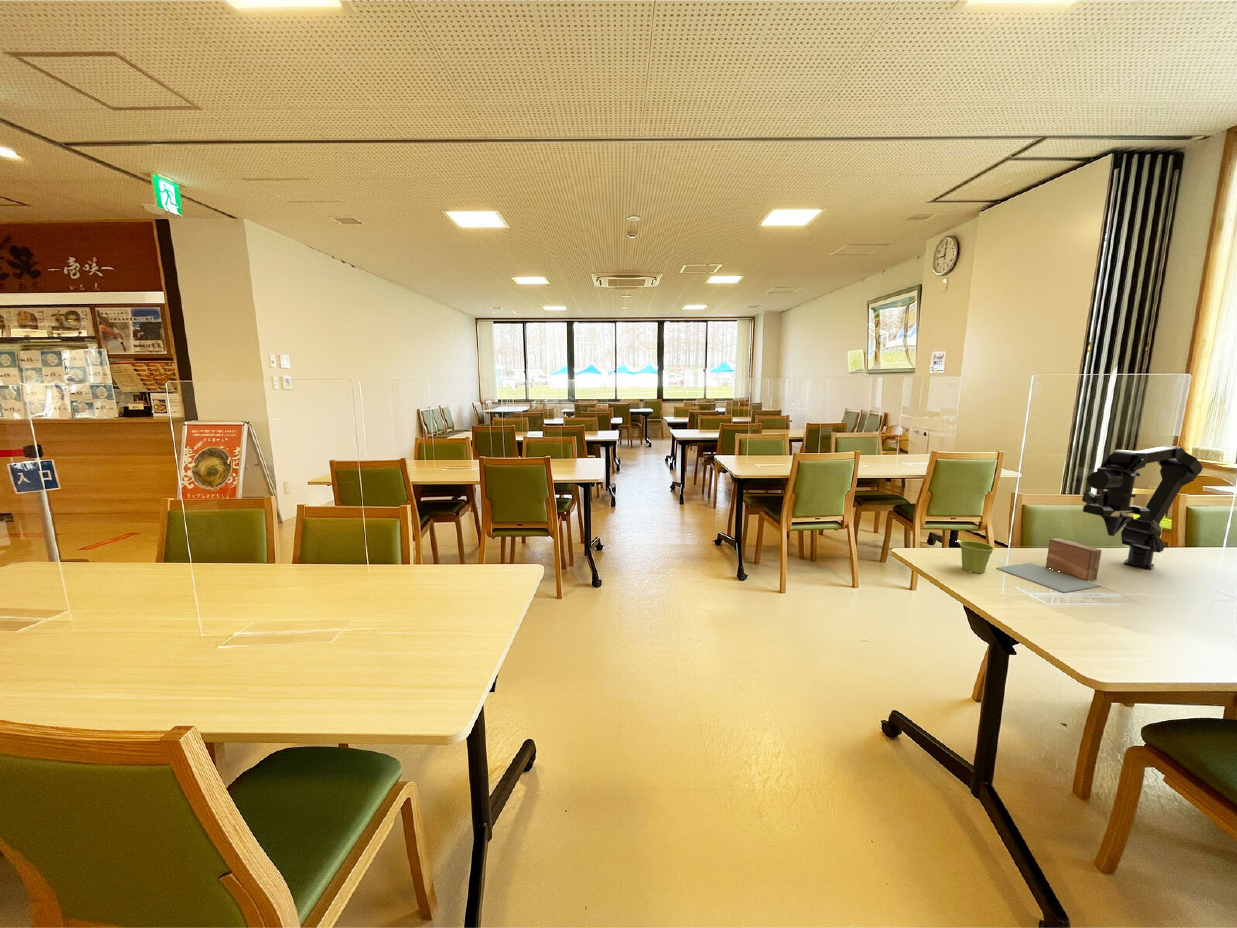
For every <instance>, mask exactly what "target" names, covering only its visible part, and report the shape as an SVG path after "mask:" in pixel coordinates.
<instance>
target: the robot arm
mask: <svg viewBox="0 0 1237 928" xmlns="http://www.w3.org/2000/svg"><path fill="white" fill-rule="evenodd" d="M1151 463H1157V464H1158V465H1159V466H1160V470H1159V473H1160V476H1161V481H1160V482H1159V484H1158V486H1157V487H1156V489H1155V491H1154V492H1153V494H1152V495H1151V498H1150V499H1149V501H1148V502H1147V504H1146V505H1145V506H1141V505H1135V504H1131V501H1132V498H1136V496H1137V495H1136V493H1133V490H1134V487H1135V480H1136V477H1140V476H1141V474H1140V473H1139V472H1138V470H1140V469H1143V468H1145V467H1146V465H1147V464H1151ZM1202 470H1203V465H1202V464H1201V462H1200V460H1199V459H1198V458H1197V457H1195V456H1193V455H1192V454H1190V453H1188V452H1186V451H1185V449H1184V448H1182V447H1180V446H1175V445H1166V444H1164V445H1160V446H1156V447H1152V448H1146V449H1140V450H1125V449H1116V450H1113V451H1112V453H1110V454H1109V456H1108V457H1107V458H1106V459H1105V460H1104V462H1103V463H1102V464H1101V465H1100V467H1097V469H1096V471H1094V472H1092V473H1091V474H1090V475H1089V476H1088V477H1087V483H1088V485H1089V486H1090V487H1091V488H1092V489H1095V490H1102V492H1101V494H1094V493H1093V492H1084V493H1083V495H1082V496H1081V497H1082V498H1081V501H1082V503H1085V504H1084V505H1083V507H1082V512H1083V513H1087V514H1091V515H1095V516H1100V517H1101V518H1102V519H1103V521H1104V523H1105V527H1106V532H1107V535H1108V536H1110V537H1114V536H1115V535H1116V534H1117V533H1118V532H1119V531H1120V530H1121V529H1122V530H1121V531H1120V535H1121V536H1120V537H1121V542H1122V543H1121V544H1122V545H1125V546H1129V549H1128V555H1127V558H1126V559H1125V561H1123V564H1124V565H1128V566H1131V565H1132V567H1137V568H1141V569H1146V570H1152V569H1153V568H1154V566H1155V564H1154V563H1153V558H1154V555H1155V553H1162V552H1163V551H1164V550H1165V548H1166V545H1165V543H1164V541H1163V540H1162V538H1161V536H1162V529H1161V526H1160V523H1161V522H1162V520H1163V519H1164V517H1165V515H1166V513H1167V512H1168V510H1169V509H1170V507H1171V506H1172V504H1173V502H1174V501H1175V499H1176V497H1177V495H1178V493H1179V492H1180V491H1181V489H1182V488H1183V487H1184V486H1185V485H1187V484H1190V483H1191V482H1192V483H1193V481H1195V480H1196V479H1197V477H1198V476H1199V475H1200V474H1201V473H1202ZM1130 514H1134V515H1139V516H1138V517H1136V518H1134V516H1131V515H1130Z"/></svg>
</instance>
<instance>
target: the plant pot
mask: <svg viewBox="0 0 1237 928" xmlns="http://www.w3.org/2000/svg"><path fill="white" fill-rule="evenodd" d="M958 545H960V549H961V568H962V569H963V571H967V572H969V571H971V572H970V573H977V574H984V573H985V572H986V568H987V565H988V562H989V560H990V557H991V554H992V553H993V551H994V550H995V547H994V546H992V545H991V544H987V543H985V542H984V543H983V542H979V541H973V540H961V541H959V542H958ZM983 572H984V573H983Z"/></svg>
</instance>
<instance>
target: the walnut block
mask: <svg viewBox="0 0 1237 928" xmlns="http://www.w3.org/2000/svg"><path fill="white" fill-rule="evenodd" d="M1046 556H1047V557H1046V564H1045V567H1046V568H1051V569H1053V570H1055V571H1060V572H1061V573H1064V574H1067V575H1070V576H1073V577H1076V578H1079V579H1082V580H1085V581H1088V582H1091V581H1092V582H1093V581H1097V578H1098V574H1099V573H1098V572H1099V568H1100V561H1101V558H1102V557H1101V556H1102V549H1100V548H1097V547H1093V546H1089V545H1084V544H1081V543H1077V542H1075V541H1071V540H1066V539H1064V538H1059V537H1056V538H1050V539H1049V543H1048V550H1047V555H1046Z"/></svg>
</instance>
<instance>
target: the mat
mask: <svg viewBox="0 0 1237 928" xmlns="http://www.w3.org/2000/svg"><path fill="white" fill-rule="evenodd" d="M996 568H997V570H999V571H1002V572H1005V573H1008V574H1010V575H1012V576H1015V577H1018V578H1021V579H1024V580H1027V581H1029V582H1032V583H1036V584H1038V585H1039V586H1043V585H1044V586H1043V587H1046V588H1048V587H1049V589H1051V588H1053V589H1052V590H1054V589H1055V591H1057V592H1059V593H1063V594H1066V593H1073V592H1077V591H1083V590H1089V589H1095V588H1099V587H1102V585H1100V584H1097V583H1094V582H1091V581H1085V580H1082V579H1079V578H1076V577H1073V576H1070V575H1067V574H1064V573H1061V572H1058V571H1055V570H1052V569H1049V568H1046V566H1043V565H1040V564H1036V563H1034V562H1026V563H1018V564H1011V565H1006V566H1005V565H1004V566H998V567H996Z"/></svg>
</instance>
